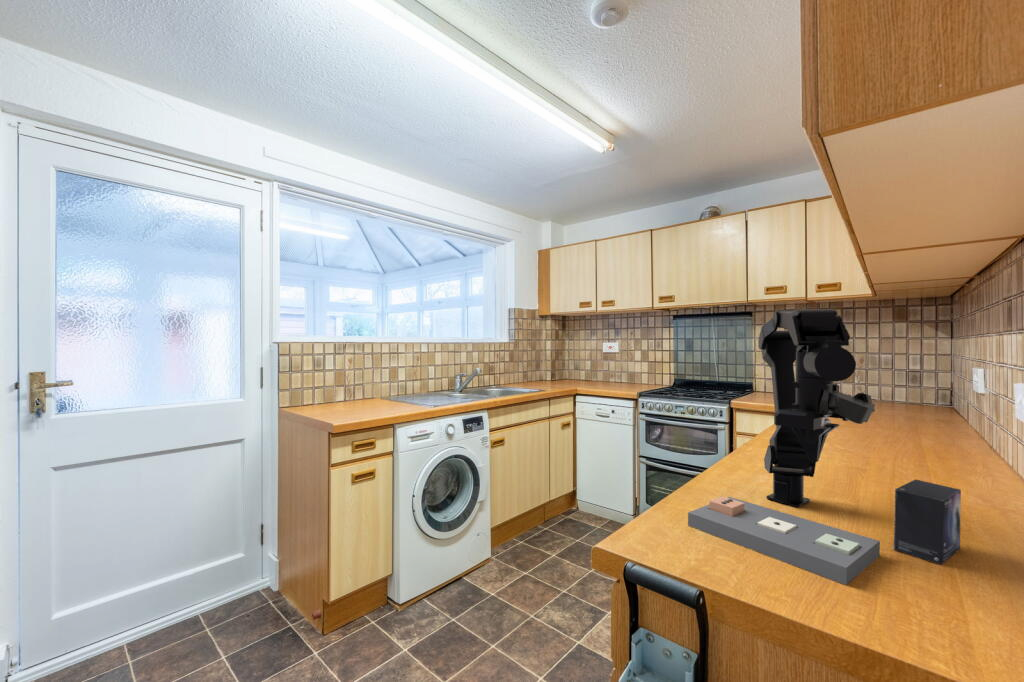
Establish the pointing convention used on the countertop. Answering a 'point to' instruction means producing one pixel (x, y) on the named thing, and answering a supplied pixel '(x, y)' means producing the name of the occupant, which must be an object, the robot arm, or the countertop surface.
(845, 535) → the button board
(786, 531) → the one-dot button
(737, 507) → the three-dot button
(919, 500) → the small box
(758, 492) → the countertop surface
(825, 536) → the two-dot button
